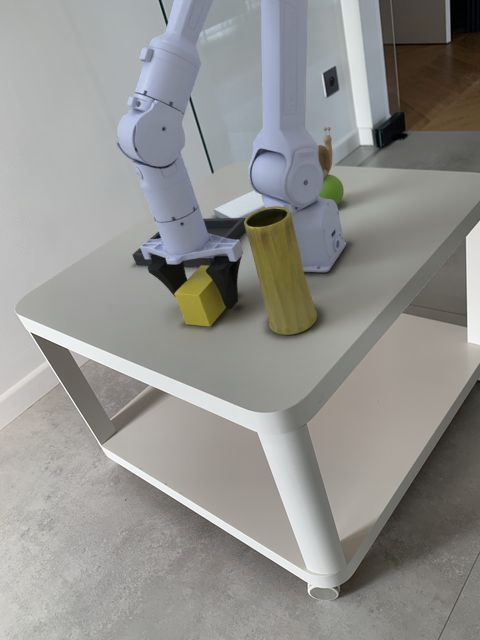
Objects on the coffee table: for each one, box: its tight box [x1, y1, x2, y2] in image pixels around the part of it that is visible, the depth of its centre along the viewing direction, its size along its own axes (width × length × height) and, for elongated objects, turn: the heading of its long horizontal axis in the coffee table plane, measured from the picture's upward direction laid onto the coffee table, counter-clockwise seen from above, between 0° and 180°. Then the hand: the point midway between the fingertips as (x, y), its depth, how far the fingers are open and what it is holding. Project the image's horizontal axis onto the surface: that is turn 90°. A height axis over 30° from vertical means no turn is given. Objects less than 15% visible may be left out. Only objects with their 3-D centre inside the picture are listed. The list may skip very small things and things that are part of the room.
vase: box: [244, 206, 318, 336], centre depth 65 cm, size 6×6×14 cm
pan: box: [131, 217, 246, 268], centre depth 93 cm, size 16×13×2 cm
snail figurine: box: [318, 126, 345, 205], centre depth 90 cm, size 5×6×12 cm
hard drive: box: [212, 189, 265, 218], centre depth 100 cm, size 2×8×12 cm
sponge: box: [173, 265, 227, 327], centre depth 74 cm, size 4×7×5 cm, turn 153°
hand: (209, 303), depth 75 cm, fingers open, 7 cm apart
